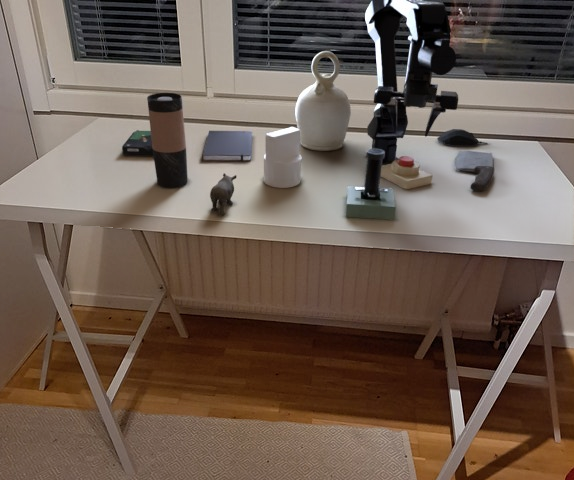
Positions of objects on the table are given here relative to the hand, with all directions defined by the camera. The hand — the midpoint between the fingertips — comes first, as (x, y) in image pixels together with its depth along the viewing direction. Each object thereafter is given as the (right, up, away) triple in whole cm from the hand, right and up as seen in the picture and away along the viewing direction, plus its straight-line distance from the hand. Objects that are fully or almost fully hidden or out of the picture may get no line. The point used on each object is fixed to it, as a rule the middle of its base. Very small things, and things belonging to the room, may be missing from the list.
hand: (410, 134), depth 132 cm
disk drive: (-68, +2, +22) cm, 71 cm away
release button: (0, -6, +4) cm, 8 cm away
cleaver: (+19, -7, +12) cm, 23 cm away
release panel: (0, -9, +6) cm, 11 cm away
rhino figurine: (-43, -18, -9) cm, 47 cm away
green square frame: (-11, -19, -9) cm, 24 cm away
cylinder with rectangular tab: (-31, -11, +3) cm, 33 cm away
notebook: (-46, +3, +23) cm, 51 cm away
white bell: (-20, +5, +28) cm, 34 cm away
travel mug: (-57, -11, +1) cm, 58 cm away
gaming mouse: (+22, +6, +31) cm, 39 cm away
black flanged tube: (-11, -19, -9) cm, 24 cm away
